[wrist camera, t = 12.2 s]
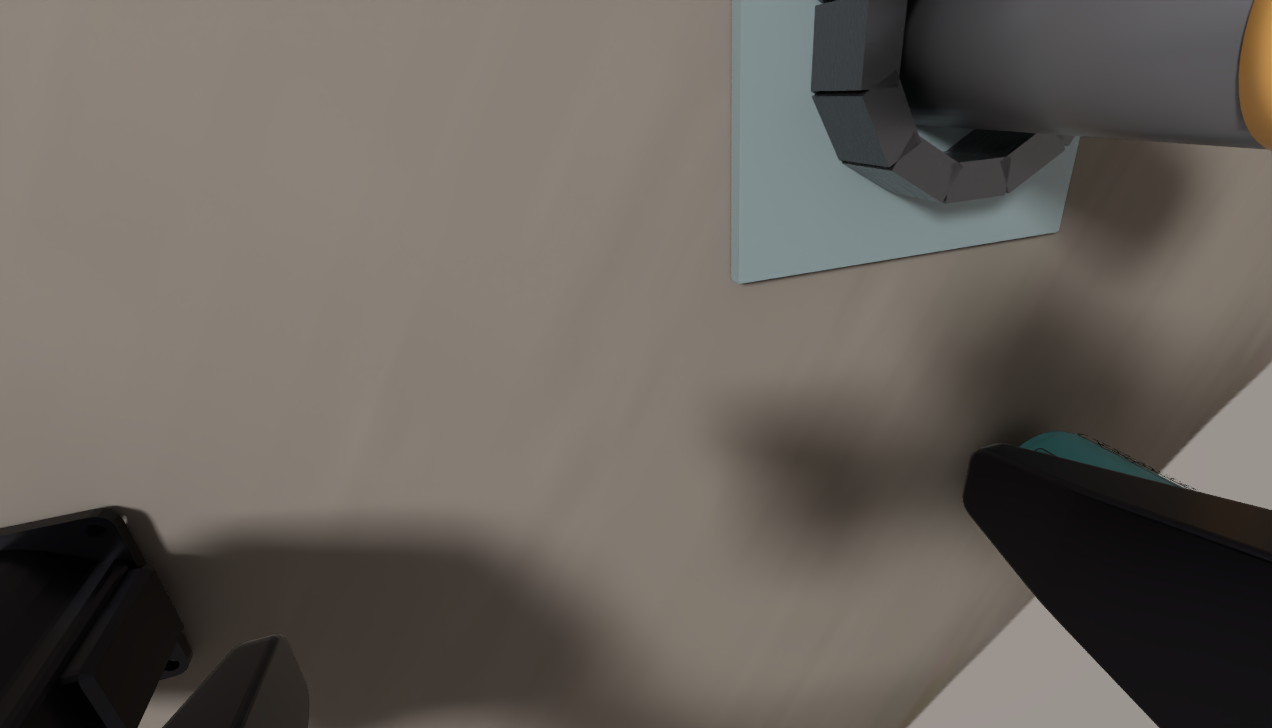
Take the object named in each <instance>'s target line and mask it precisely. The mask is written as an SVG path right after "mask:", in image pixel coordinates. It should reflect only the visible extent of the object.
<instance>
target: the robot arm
mask: <svg viewBox="0 0 1272 728" xmlns="http://www.w3.org/2000/svg"><path fill="white" fill-rule="evenodd" d="M962 498H963V503H964V507H965V509H966V511H967V512H968V514H969V515H970V516H971V518H972V519H973V520H974V521H975V522H976V524H977V525H978V526H979V527H980V529H981V530H982V531H983V532H984V534H985V535H986V536H987V537H988V539H989V540H990V541H991V542H992V544H993V545H994V546H995V547H996V548H997V550H998V551H999V552H1000V553H1001V555H1002V556H1003V557H1004V558H1005V560H1006V561H1007V562H1008V563H1009V565H1010V566H1011V567H1012V568H1013V570H1014V571H1015V572H1016V573H1017V575H1018V576H1019V577H1020V578H1021V579H1022V581H1023V582H1024V583H1025V584H1026V586H1027V587H1028V588H1029V589H1030V590H1031V592H1032V593H1033V594H1034V595H1035V596H1036V598H1037V599H1038V600H1039V601H1040V602H1041V603H1042V604H1043V605H1044V607H1045V608H1046V609H1047V610H1048V611H1049V612H1050V613H1051V614H1052V615H1053V617H1055V619H1056V620H1057V621H1058V622H1059V623H1060V624H1061V625H1062V626H1063V627H1064V628H1065V629H1066V630H1067V631H1068V632H1069V633H1070V634H1071V635H1072V636H1073V638H1074V639H1075V640H1076V641H1077V642H1078V643H1079V644H1080V645H1081V646H1082V647H1083V648H1084V649H1085V650H1086V651H1087V652H1088V653H1089V654H1090V655H1091V657H1093V659H1094V660H1095V661H1096V662H1097V663H1098V664H1099V665H1100V666H1101V667H1102V668H1103V669H1104V670H1105V671H1106V672H1107V673H1108V674H1109V675H1110V676H1111V678H1112V679H1113V680H1114V681H1115V682H1116V683H1117V684H1118V685H1119V686H1120V687H1121V688H1122V689H1123V690H1124V691H1125V692H1126V693H1127V694H1128V695H1129V696H1130V697H1131V698H1132V699H1133V701H1134V702H1135V703H1136V704H1137V705H1138V706H1139V707H1140V708H1141V709H1142V710H1143V711H1144V712H1145V713H1146V714H1147V715H1148V716H1149V717H1150V718H1151V720H1152V721H1154V723H1155V724H1156V725H1157V726H1158V727H1159V728H1272V510H1268V509H1265V508H1261V507H1257V506H1253V505H1249V504H1245V503H1241V502H1237V501H1233V500H1229V499H1225V498H1221V497H1217V496H1213V495H1209V494H1205V493H1201V492H1197V491H1193V490H1189V489H1185V488H1181V487H1177V486H1173V485H1169V484H1165V483H1161V482H1157V481H1153V480H1149V479H1145V478H1141V477H1137V476H1133V475H1129V474H1125V473H1121V472H1117V471H1113V470H1109V469H1105V468H1101V467H1097V466H1093V465H1089V464H1086V463H1082V462H1078V461H1074V460H1070V459H1066V458H1062V457H1058V456H1054V455H1050V454H1046V453H1042V452H1038V451H1034V450H1030V449H1026V448H1022V447H1018V446H1014V445H1010V444H1005V443H997V444H993V445H989V446H985V447H981V448H978V449H976V450H975V451H974V452H973V453H972V454H971V456H970V459H969V464H968V469H967V474H966V479H965V484H964V489H963V496H962ZM92 524H99V525H102V526H104V527H105V528H106V529H107V530H99V529H96V528H95V527H94V526H93V525H92ZM182 630H183V623H182V622H181V620H180V618H179V616H178V614H177V612H176V610H175V608H174V606H173V604H172V602H171V600H170V598H169V597H168V595H167V593H166V591H165V589H164V587H163V585H162V583H161V581H160V579H159V577H158V575H157V573H156V572H155V570H154V569H152V568H151V567H149V566H148V565H147V564H146V562H145V560H144V558H143V557H142V555H141V553H140V551H139V549H138V547H137V545H136V543H135V541H134V539H133V538H132V536H131V534H130V532H129V530H128V528H127V526H126V524H125V522H124V520H123V519H122V517H121V516H120V515H119V514H118V513H116V512H114V511H112V510H108V509H94V510H89V511H84V512H79V513H74V514H69V515H64V516H60V517H55V518H50V519H45V520H40V521H35V522H30V523H26V524H21V525H16V526H11V527H6V528H1V529H0V728H138V726H139V723H140V721H141V719H142V717H143V715H144V713H145V710H146V708H147V706H148V704H149V702H150V700H151V697H152V695H153V693H154V691H155V689H156V687H157V684H158V682H159V680H162V679H166V678H169V677H173V676H176V675H179V674H181V673H183V672H184V671H185V670H186V669H187V667H188V665H189V663H190V660H191V658H192V656H193V654H192V650H191V648H190V646H189V644H188V642H187V640H186V638H185V637H184V635H183V633H182ZM169 659H174V660H177V661H171V660H169ZM308 719H309V694H308V689H307V685H306V682H305V680H304V677H303V675H302V673H301V670H300V668H299V665H298V663H297V661H296V658H295V656H294V654H293V651H292V649H291V647H290V644H289V642H288V640H287V639H286V638H285V637H284V636H283V635H281V634H272V635H269V636H265V637H261V638H257V639H254V640H250V641H246V642H243V643H241V644H239V645H238V646H236V647H235V648H234V649H233V650H232V651H231V652H230V653H229V654H228V655H227V656H226V657H225V659H224V660H223V661H222V662H221V663H220V664H219V665H218V666H217V667H216V669H215V670H214V671H213V672H212V673H211V674H210V675H209V676H208V677H207V678H206V680H205V681H204V682H203V683H202V684H201V685H200V686H199V687H198V688H197V690H196V691H195V692H194V693H193V694H192V695H191V696H190V697H189V698H188V700H187V701H186V702H185V703H184V704H183V705H182V706H181V707H180V708H179V710H178V711H177V712H176V713H175V714H174V715H173V716H172V717H171V718H170V720H169V721H168V722H167V723H166V724H165V725H164V726H163V727H162V728H308Z"/></svg>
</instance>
